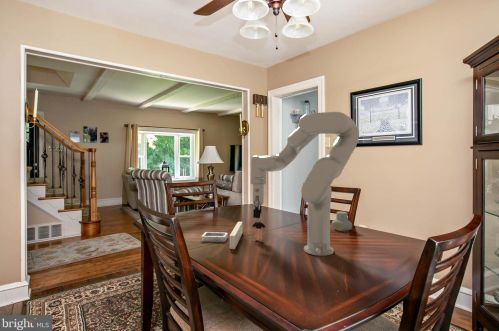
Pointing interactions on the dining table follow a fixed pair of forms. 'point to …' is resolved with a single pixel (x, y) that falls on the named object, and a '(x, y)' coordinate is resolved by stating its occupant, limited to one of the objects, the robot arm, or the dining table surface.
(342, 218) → the air freshener
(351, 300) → the dining table surface
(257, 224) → the grandmother figurine
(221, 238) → the grey hollow rectangular frame
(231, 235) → the white long flat block
